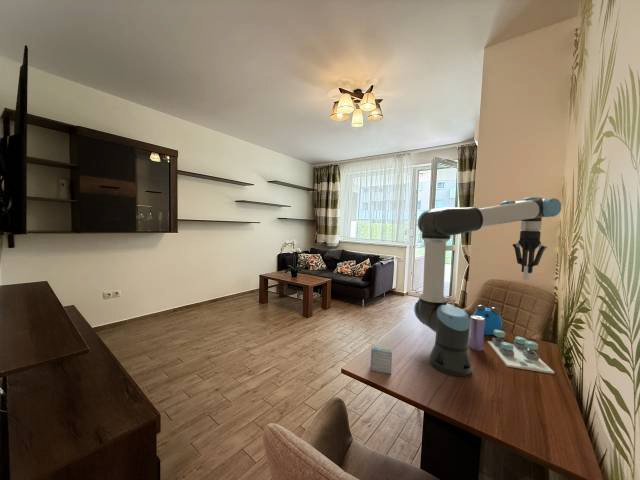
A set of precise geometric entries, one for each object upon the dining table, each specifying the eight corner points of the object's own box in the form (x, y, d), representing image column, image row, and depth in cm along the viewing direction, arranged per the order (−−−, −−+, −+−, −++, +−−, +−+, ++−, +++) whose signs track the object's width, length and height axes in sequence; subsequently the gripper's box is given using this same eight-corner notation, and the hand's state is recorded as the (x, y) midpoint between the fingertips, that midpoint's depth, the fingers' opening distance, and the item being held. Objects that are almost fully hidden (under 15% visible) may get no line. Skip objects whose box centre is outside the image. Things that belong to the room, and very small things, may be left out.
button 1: (502, 354, 111) (503, 345, 111) (498, 349, 115) (499, 341, 115) (514, 356, 110) (515, 347, 110) (510, 351, 114) (510, 342, 114)
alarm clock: (500, 334, 134) (503, 307, 133) (500, 338, 129) (502, 310, 128) (472, 328, 142) (474, 302, 141) (471, 331, 137) (473, 304, 136)
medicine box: (391, 368, 100) (392, 347, 100) (391, 374, 96) (392, 352, 95) (371, 364, 102) (371, 344, 102) (370, 370, 98) (371, 349, 98)
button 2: (527, 353, 108) (528, 344, 108) (522, 348, 113) (523, 340, 112) (539, 355, 107) (540, 346, 107) (534, 350, 112) (535, 341, 111)
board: (507, 366, 104) (507, 359, 104) (487, 342, 125) (488, 336, 125) (554, 373, 100) (554, 366, 99) (525, 347, 121) (526, 341, 121)
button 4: (517, 348, 117) (517, 339, 117) (512, 343, 122) (513, 335, 121) (528, 349, 116) (529, 341, 116) (523, 345, 120) (524, 337, 120)
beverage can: (484, 352, 115) (487, 320, 114) (470, 350, 116) (473, 319, 115) (479, 346, 121) (481, 315, 120) (465, 344, 122) (468, 314, 121)
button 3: (495, 341, 120) (495, 332, 119) (491, 337, 124) (492, 329, 123) (506, 342, 118) (506, 334, 118) (502, 338, 123) (502, 330, 122)
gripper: (551, 231, 116) (546, 281, 118) (518, 229, 127) (514, 276, 129) (544, 231, 112) (539, 283, 114) (510, 229, 124) (506, 277, 125)
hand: (526, 279), depth 122 cm, fingers closed
